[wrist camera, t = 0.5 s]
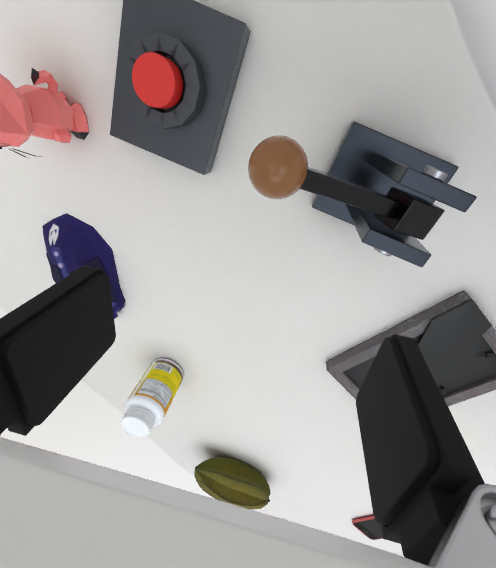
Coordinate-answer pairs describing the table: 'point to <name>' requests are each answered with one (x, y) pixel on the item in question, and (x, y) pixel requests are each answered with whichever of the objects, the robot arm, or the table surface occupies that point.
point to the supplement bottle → (151, 397)
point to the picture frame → (435, 350)
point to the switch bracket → (381, 177)
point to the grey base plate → (195, 73)
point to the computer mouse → (80, 253)
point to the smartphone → (369, 527)
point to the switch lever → (335, 188)
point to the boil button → (157, 80)
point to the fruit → (233, 482)
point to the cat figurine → (38, 112)
